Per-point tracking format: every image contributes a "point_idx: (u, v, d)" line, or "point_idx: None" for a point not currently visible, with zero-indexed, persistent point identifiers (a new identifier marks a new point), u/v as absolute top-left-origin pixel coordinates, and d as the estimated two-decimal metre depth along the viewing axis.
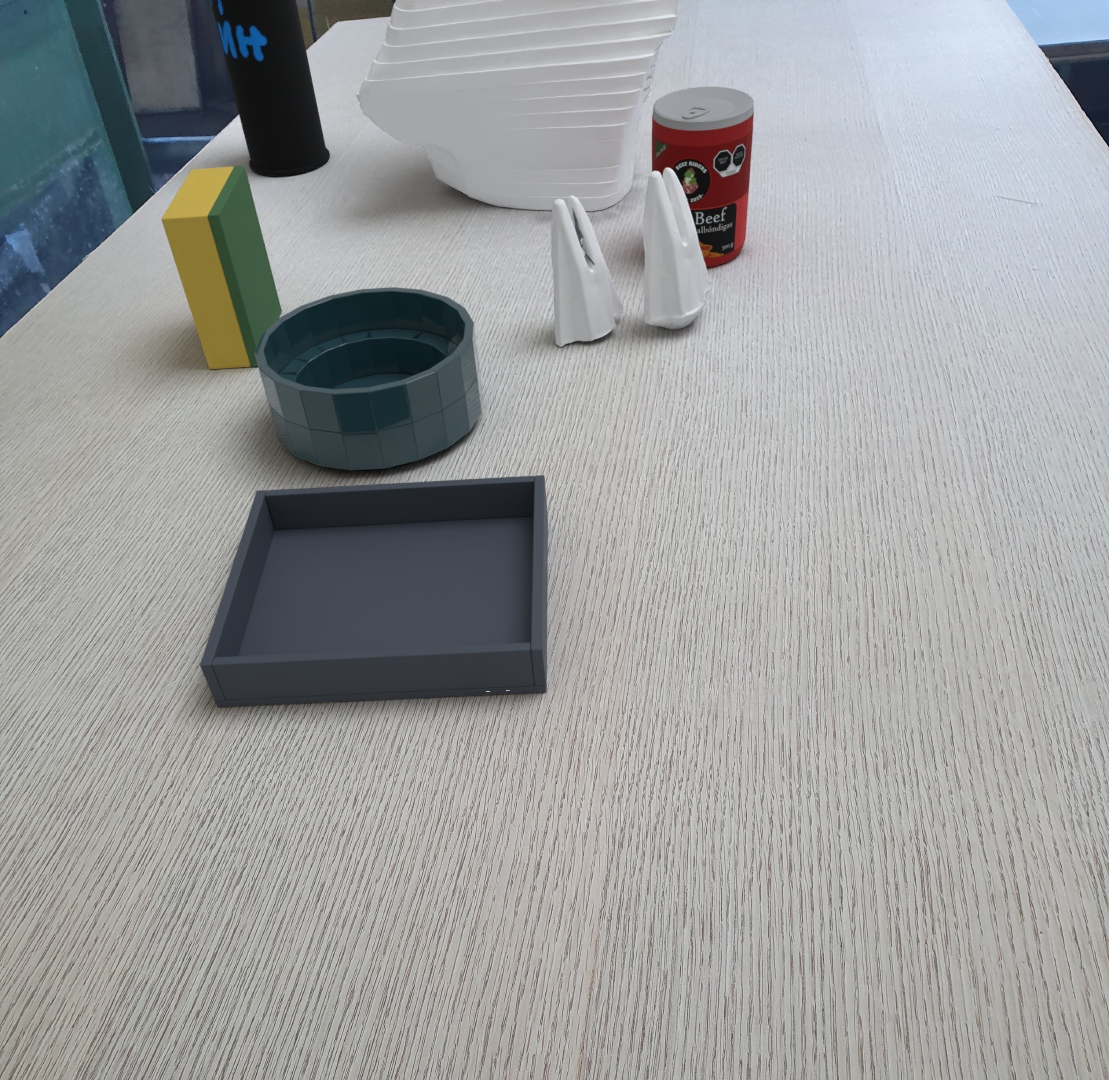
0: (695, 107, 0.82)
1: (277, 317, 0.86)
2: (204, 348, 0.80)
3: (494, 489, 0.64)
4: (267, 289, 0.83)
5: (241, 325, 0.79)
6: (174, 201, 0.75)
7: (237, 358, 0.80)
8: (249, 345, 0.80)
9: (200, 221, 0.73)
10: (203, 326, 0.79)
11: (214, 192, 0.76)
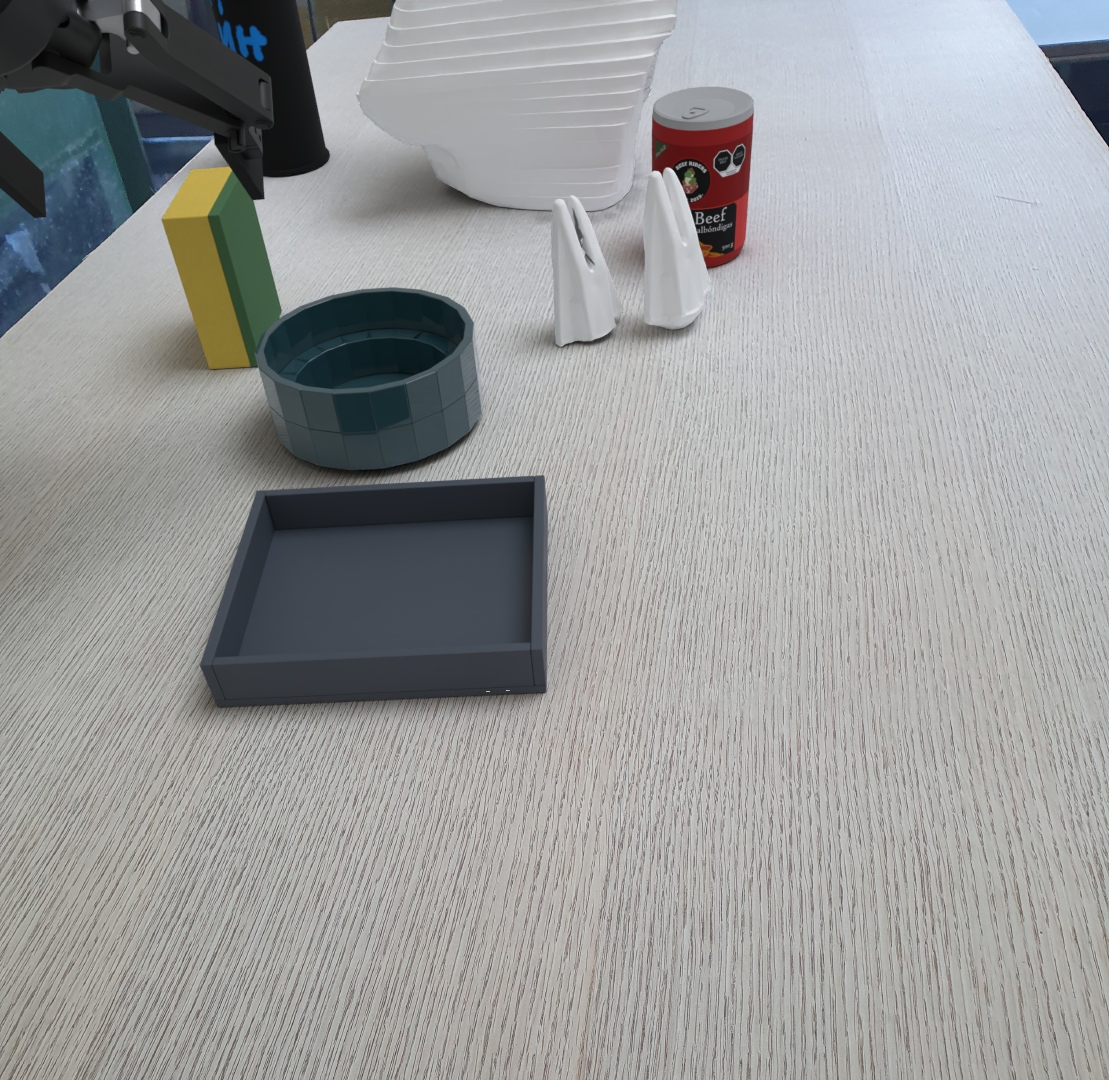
0: (695, 107, 0.82)
1: (277, 317, 0.86)
2: (204, 348, 0.80)
3: (494, 489, 0.64)
4: (267, 289, 0.83)
5: (241, 325, 0.79)
6: (174, 201, 0.75)
7: (237, 358, 0.80)
8: (249, 345, 0.80)
9: (200, 221, 0.73)
10: (203, 326, 0.79)
11: (214, 192, 0.76)
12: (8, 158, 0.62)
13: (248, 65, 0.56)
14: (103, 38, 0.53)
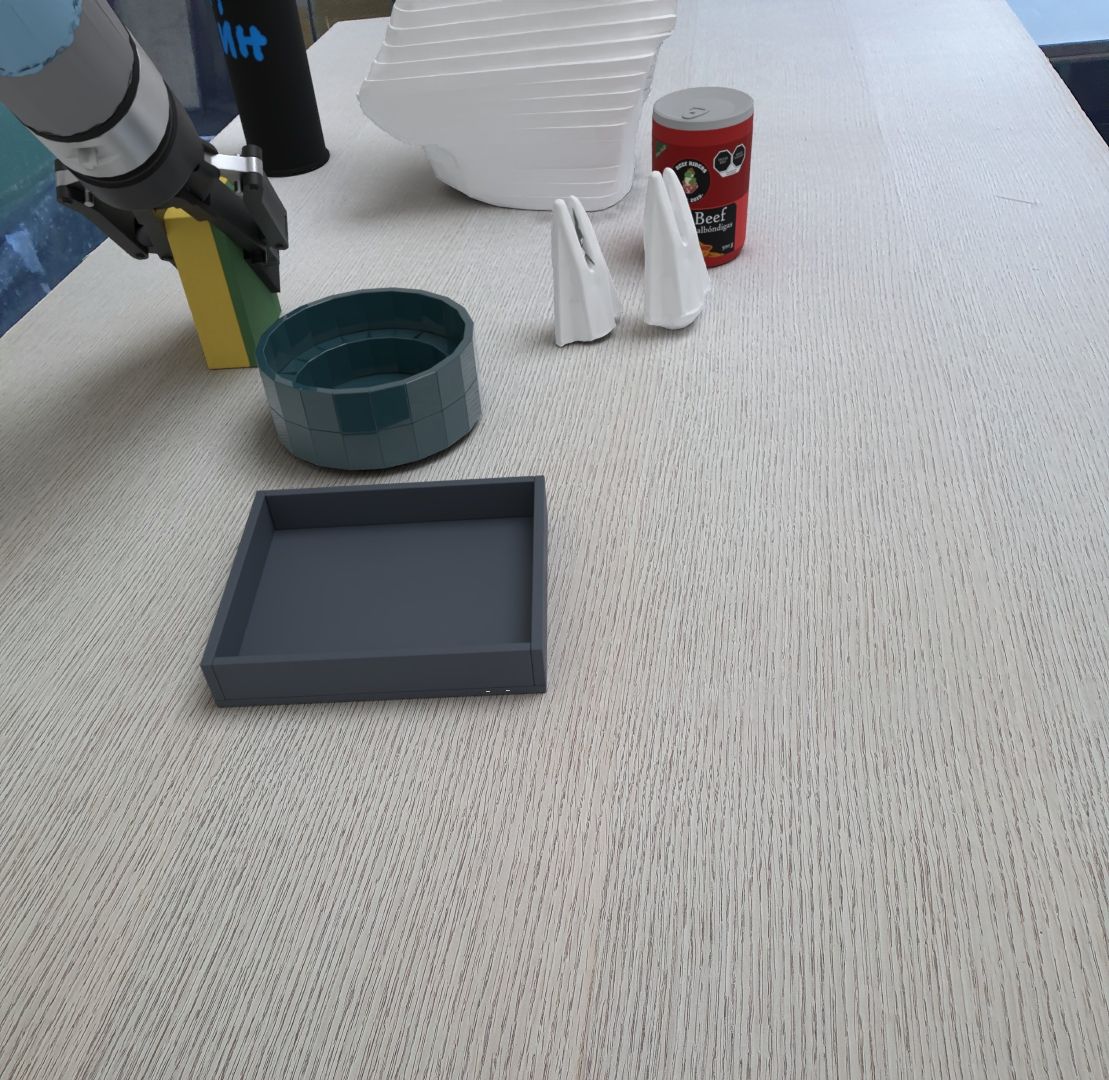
0: (695, 107, 0.82)
1: (277, 317, 0.86)
2: (204, 348, 0.80)
3: (494, 489, 0.64)
4: (266, 289, 0.83)
5: (241, 325, 0.79)
6: None
7: (237, 358, 0.80)
8: (249, 345, 0.80)
9: None
10: (203, 326, 0.79)
11: None
12: None
13: (281, 205, 0.75)
14: None
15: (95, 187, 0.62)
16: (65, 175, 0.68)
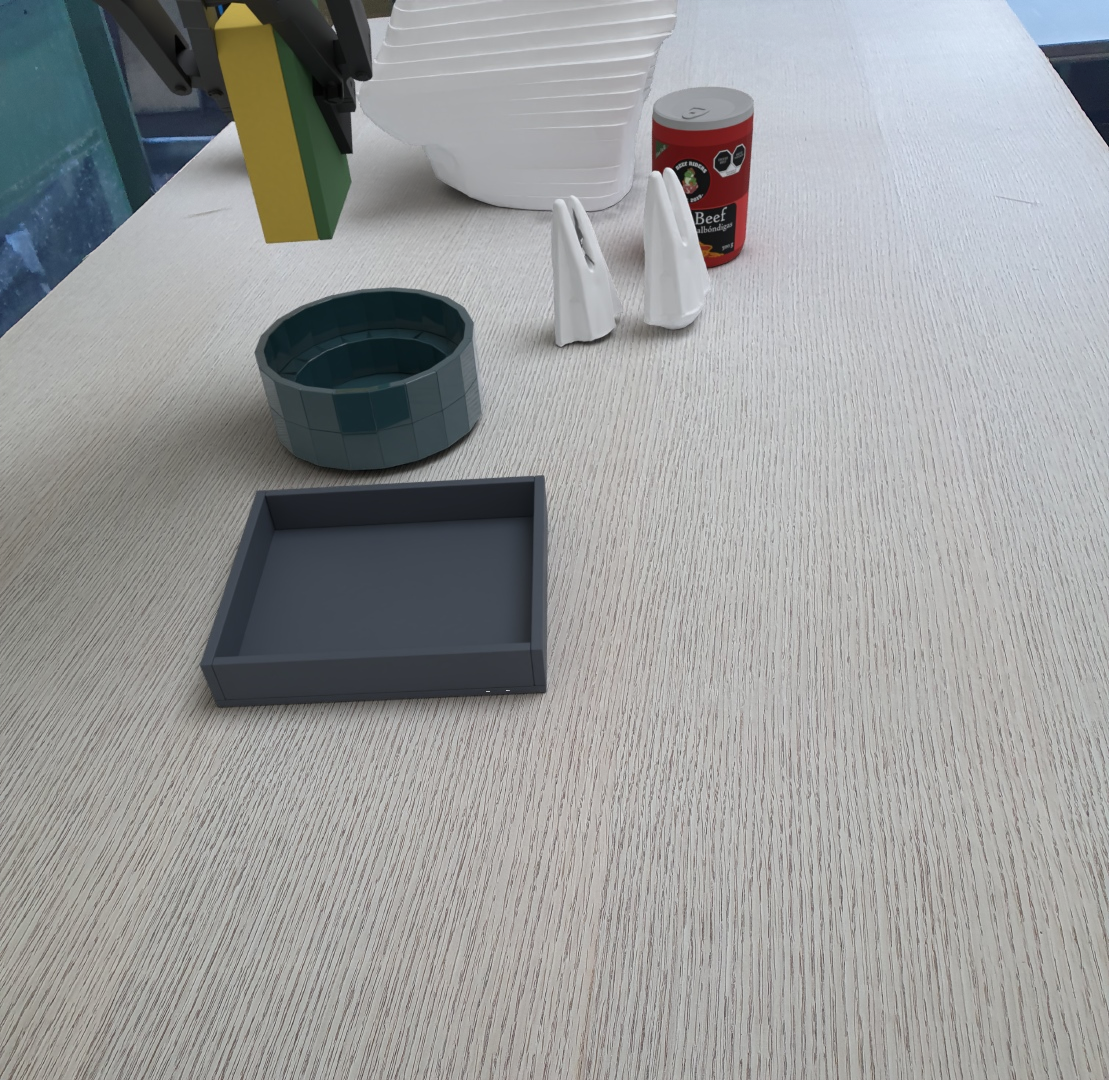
0: (695, 107, 0.82)
1: (347, 187, 0.69)
2: (260, 214, 0.63)
3: (494, 489, 0.64)
4: (336, 147, 0.66)
5: (309, 182, 0.61)
6: (226, 13, 0.58)
7: (302, 228, 0.63)
8: (318, 210, 0.63)
9: (261, 32, 0.56)
10: (260, 183, 0.61)
11: None
12: None
13: (365, 17, 0.58)
14: None
15: None
16: None
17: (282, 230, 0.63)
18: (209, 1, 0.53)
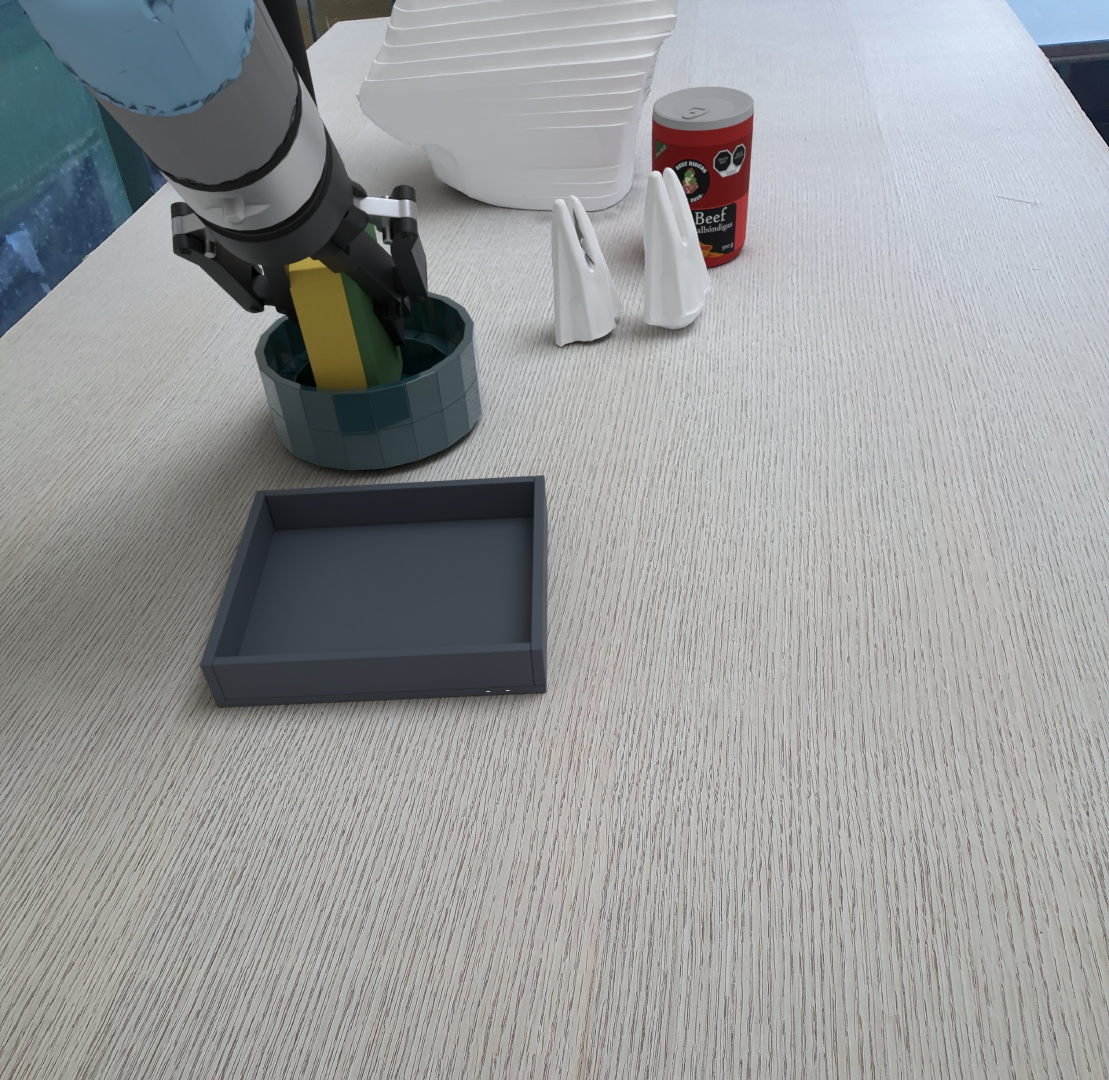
0: (695, 107, 0.82)
1: (400, 373, 0.75)
2: None
3: (494, 489, 0.64)
4: (391, 343, 0.73)
5: None
6: None
7: None
8: None
9: (330, 272, 0.63)
10: None
11: None
12: None
13: (423, 251, 0.64)
14: None
15: (232, 241, 0.52)
16: (184, 222, 0.57)
17: None
18: None
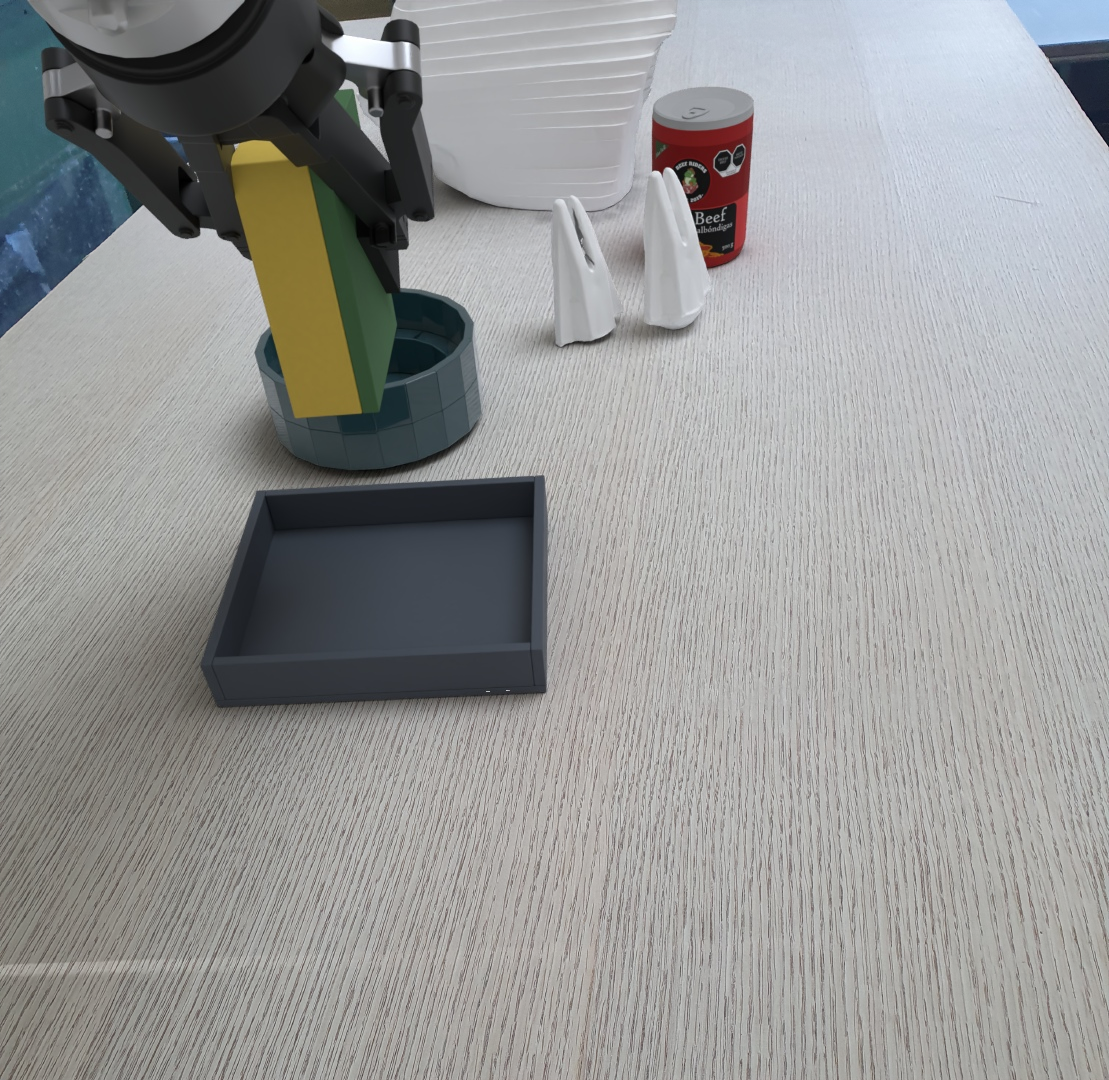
0: (695, 107, 0.82)
1: (393, 335, 0.55)
2: (289, 385, 0.49)
3: (494, 489, 0.64)
4: (381, 291, 0.52)
5: (351, 347, 0.48)
6: None
7: (341, 400, 0.50)
8: (362, 379, 0.49)
9: (293, 168, 0.42)
10: (289, 349, 0.48)
11: None
12: None
13: (427, 145, 0.44)
14: None
15: (120, 84, 0.31)
16: (61, 78, 0.37)
17: (316, 403, 0.50)
18: (225, 139, 0.39)
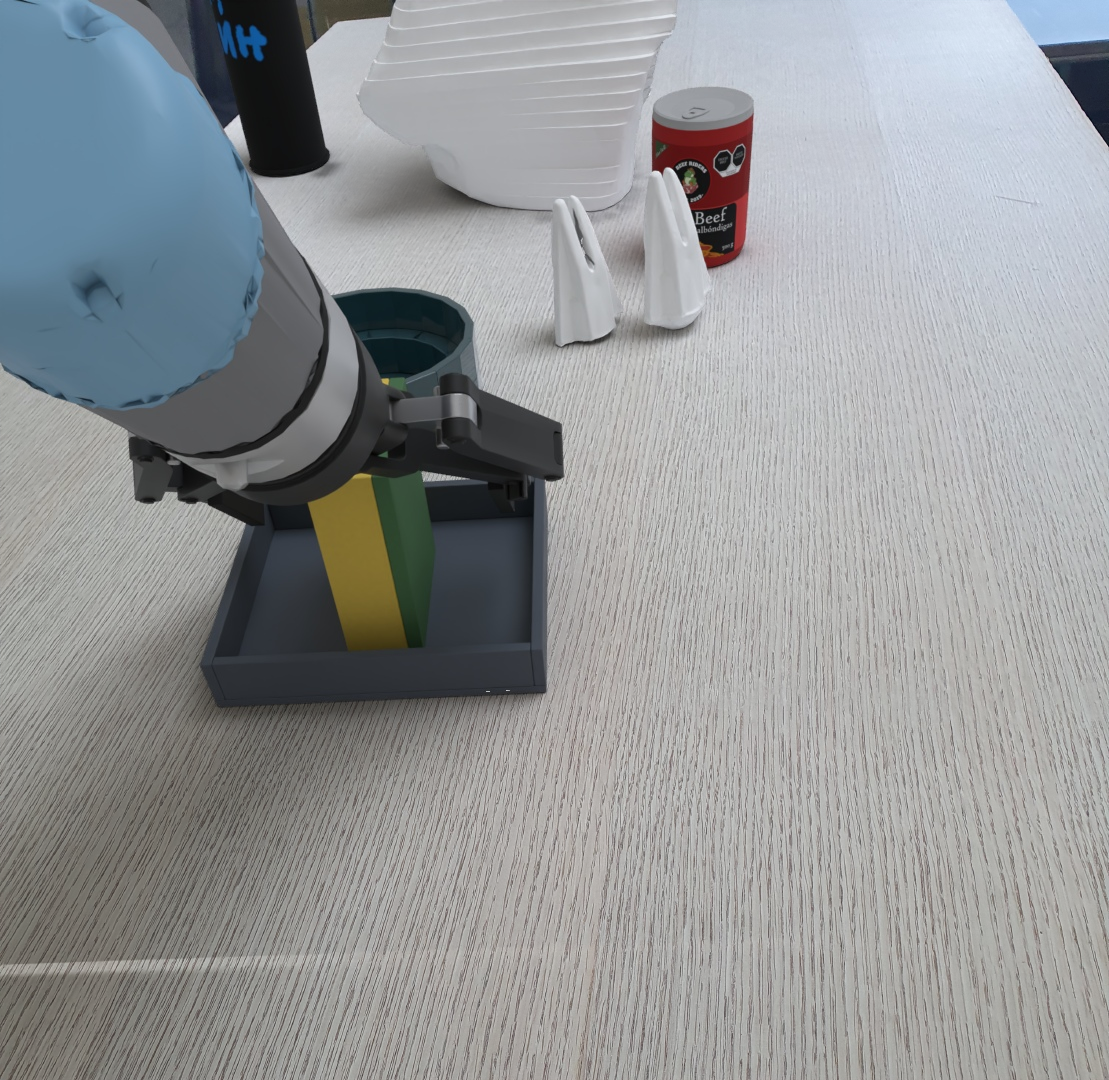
0: (695, 107, 0.82)
1: (433, 564, 0.62)
2: (346, 634, 0.56)
3: None
4: (425, 536, 0.59)
5: (402, 607, 0.55)
6: None
7: (391, 645, 0.57)
8: (411, 630, 0.56)
9: (359, 484, 0.49)
10: (348, 609, 0.55)
11: None
12: None
13: (545, 421, 0.48)
14: None
15: None
16: None
17: (369, 647, 0.57)
18: None
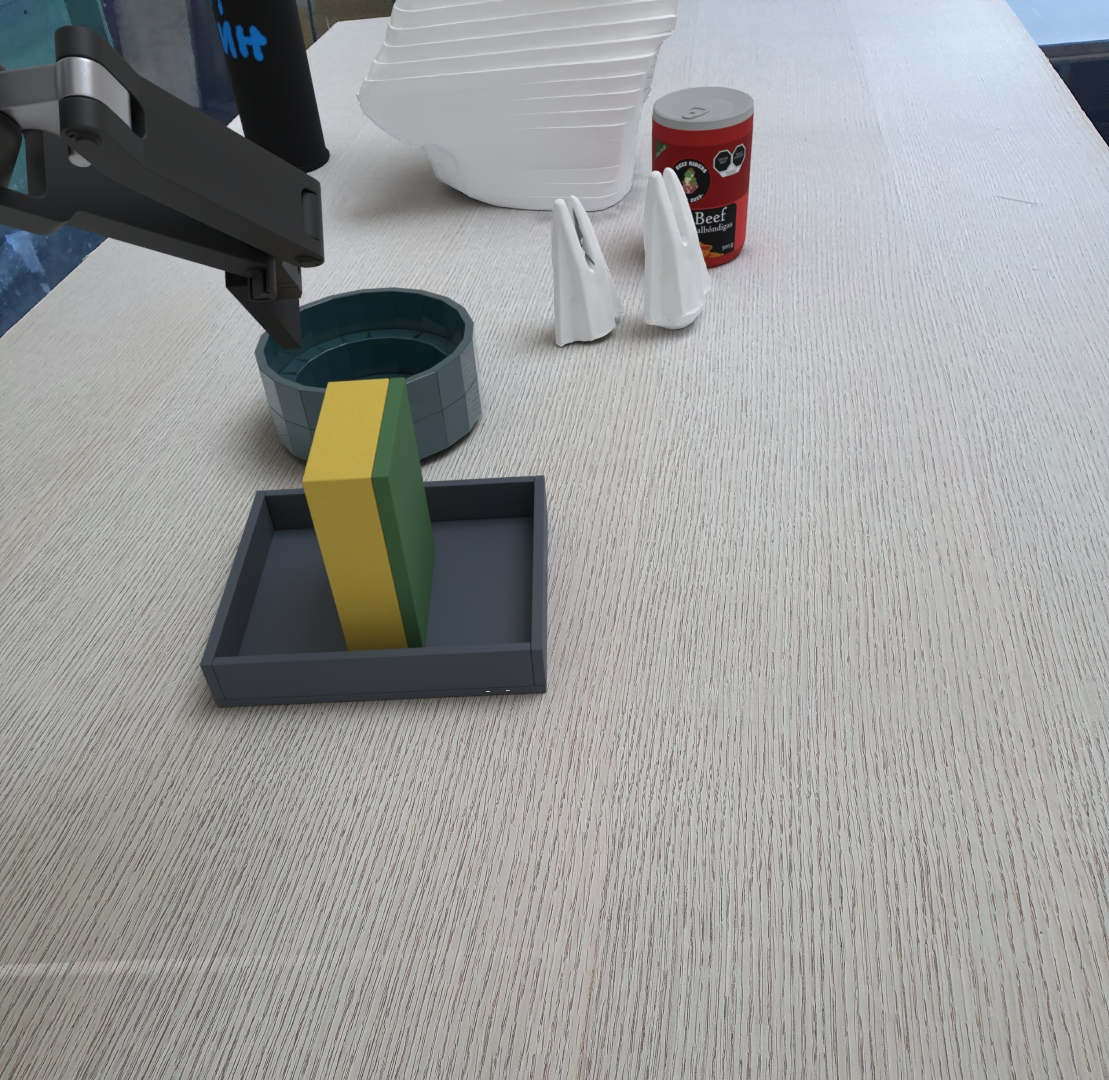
0: (695, 107, 0.82)
1: (433, 564, 0.62)
2: (346, 634, 0.56)
3: (494, 489, 0.64)
4: (425, 536, 0.59)
5: (402, 607, 0.55)
6: (315, 446, 0.51)
7: (391, 645, 0.57)
8: (411, 630, 0.56)
9: (359, 484, 0.49)
10: (348, 609, 0.55)
11: (372, 430, 0.52)
12: None
13: (285, 168, 0.33)
14: (32, 128, 0.30)
15: None
16: None
17: (369, 647, 0.57)
18: None
